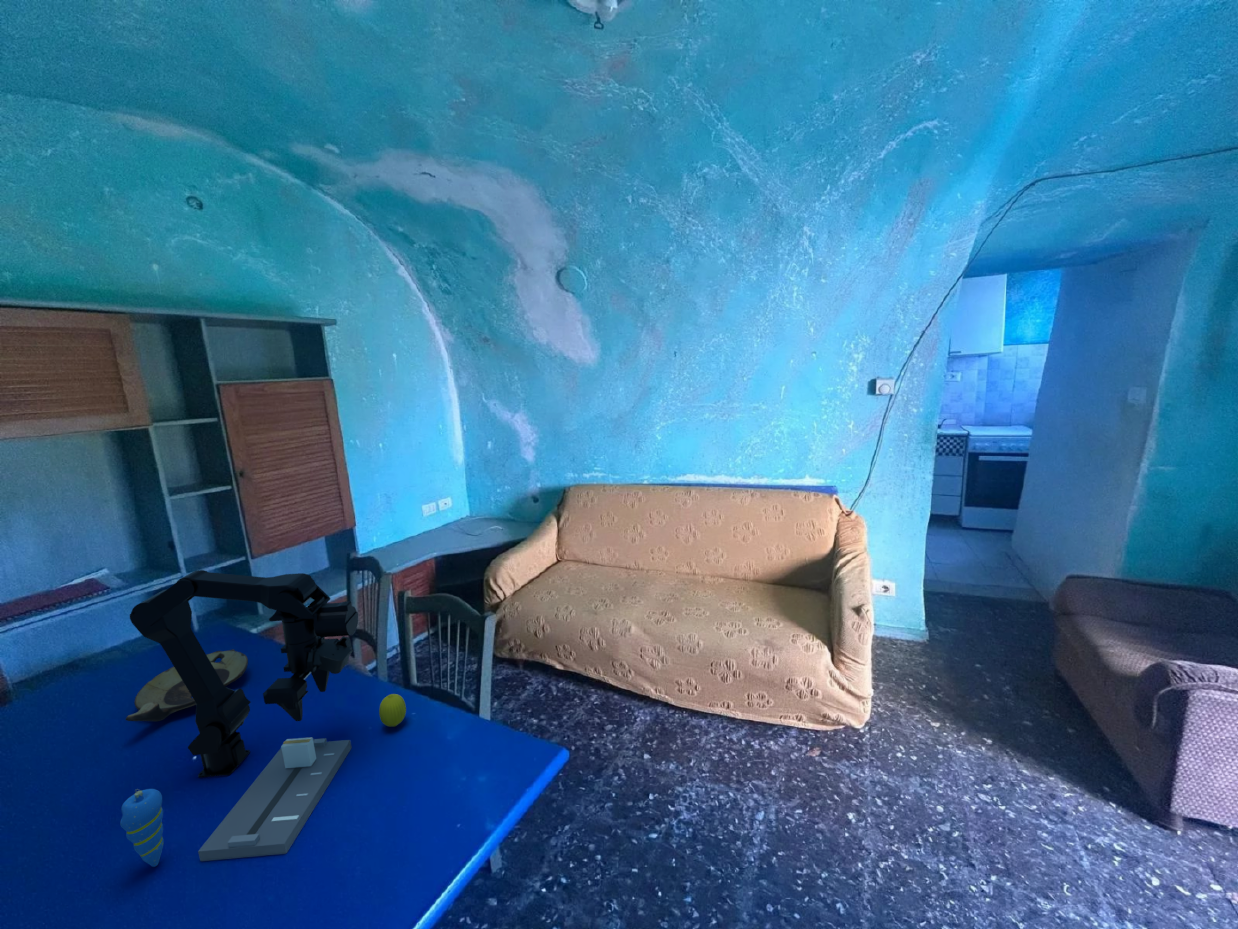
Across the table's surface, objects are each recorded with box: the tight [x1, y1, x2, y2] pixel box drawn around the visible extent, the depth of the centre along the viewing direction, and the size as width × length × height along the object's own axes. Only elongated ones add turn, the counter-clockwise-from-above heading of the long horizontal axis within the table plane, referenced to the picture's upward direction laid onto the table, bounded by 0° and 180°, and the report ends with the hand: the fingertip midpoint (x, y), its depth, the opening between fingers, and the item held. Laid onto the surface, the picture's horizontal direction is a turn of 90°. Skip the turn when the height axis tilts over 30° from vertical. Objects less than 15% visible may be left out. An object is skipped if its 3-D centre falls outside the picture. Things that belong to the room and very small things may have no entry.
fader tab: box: [280, 737, 316, 768], centre depth 101 cm, size 5×2×5 cm, turn 94°
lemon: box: [378, 693, 407, 728], centre depth 114 cm, size 6×6×8 cm
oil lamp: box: [124, 648, 249, 722], centre depth 127 cm, size 22×30×8 cm
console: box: [197, 737, 352, 862], centre depth 96 cm, size 14×24×3 cm, turn 3°
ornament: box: [119, 788, 165, 868], centre depth 83 cm, size 5×5×15 cm
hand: (311, 705), depth 105 cm, fingers open, 9 cm apart
